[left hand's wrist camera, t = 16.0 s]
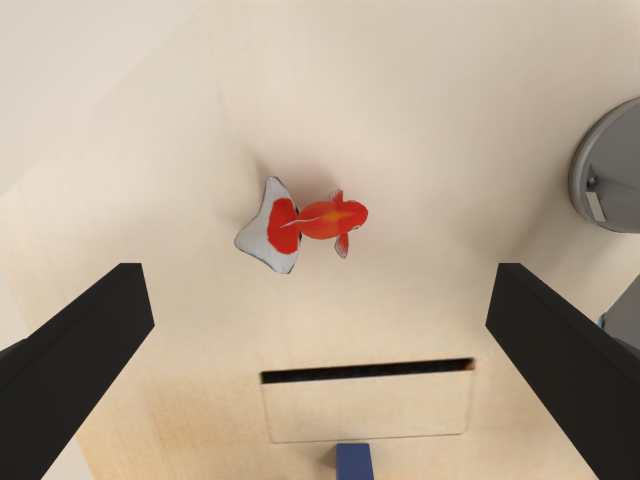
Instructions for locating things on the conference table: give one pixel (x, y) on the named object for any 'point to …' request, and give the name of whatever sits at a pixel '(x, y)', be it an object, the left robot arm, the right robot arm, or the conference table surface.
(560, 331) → the left robot arm
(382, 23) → the conference table surface
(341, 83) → the conference table surface
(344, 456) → the block
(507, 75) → the conference table surface
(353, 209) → the fish
